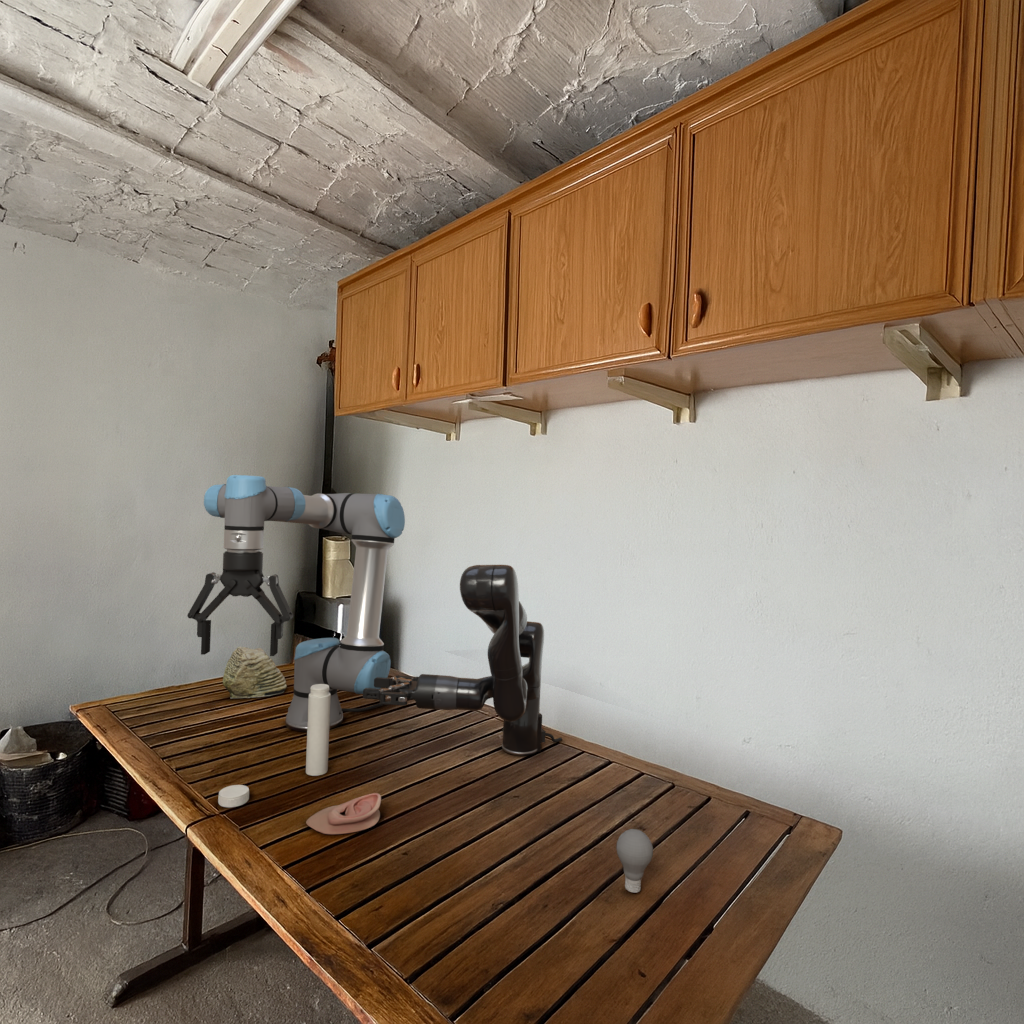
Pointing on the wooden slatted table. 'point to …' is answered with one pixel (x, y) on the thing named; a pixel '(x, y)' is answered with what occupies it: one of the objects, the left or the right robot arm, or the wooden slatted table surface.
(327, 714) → the jar
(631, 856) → the light bulb
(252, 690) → the fossil
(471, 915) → the wooden slatted table surface
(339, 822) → the anatomical model
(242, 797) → the lid
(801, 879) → the wooden slatted table surface
